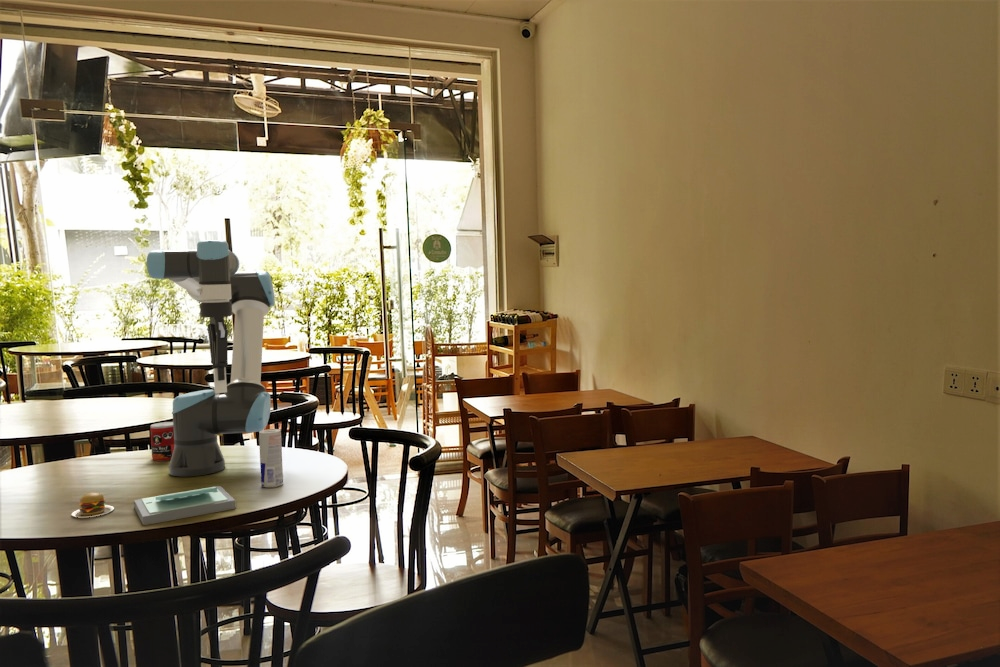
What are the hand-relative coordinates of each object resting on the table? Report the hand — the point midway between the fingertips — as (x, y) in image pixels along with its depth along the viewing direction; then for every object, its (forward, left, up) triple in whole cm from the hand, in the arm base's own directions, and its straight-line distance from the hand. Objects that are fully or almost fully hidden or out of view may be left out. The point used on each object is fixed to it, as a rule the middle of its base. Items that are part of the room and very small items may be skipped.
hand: (220, 392), depth 183 cm
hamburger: (-2, -30, -27) cm, 40 cm away
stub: (+6, -11, -24) cm, 27 cm away
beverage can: (+1, +12, -26) cm, 29 cm away
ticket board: (+8, -11, -26) cm, 30 cm away
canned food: (-54, -6, -26) cm, 60 cm away
